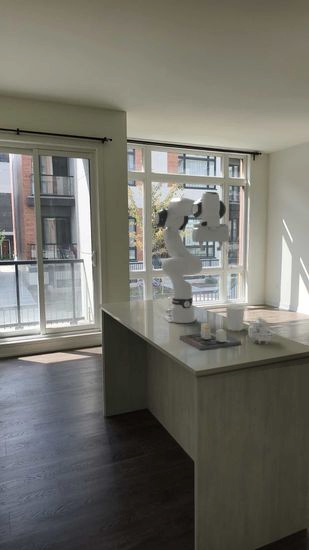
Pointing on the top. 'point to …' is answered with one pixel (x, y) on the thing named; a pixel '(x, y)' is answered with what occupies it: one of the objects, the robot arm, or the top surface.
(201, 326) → the breaker left
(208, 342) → the panel
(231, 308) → the candle holder
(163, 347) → the top surface
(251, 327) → the mechanical part
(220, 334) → the breaker right
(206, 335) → the breaker mid
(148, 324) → the top surface
